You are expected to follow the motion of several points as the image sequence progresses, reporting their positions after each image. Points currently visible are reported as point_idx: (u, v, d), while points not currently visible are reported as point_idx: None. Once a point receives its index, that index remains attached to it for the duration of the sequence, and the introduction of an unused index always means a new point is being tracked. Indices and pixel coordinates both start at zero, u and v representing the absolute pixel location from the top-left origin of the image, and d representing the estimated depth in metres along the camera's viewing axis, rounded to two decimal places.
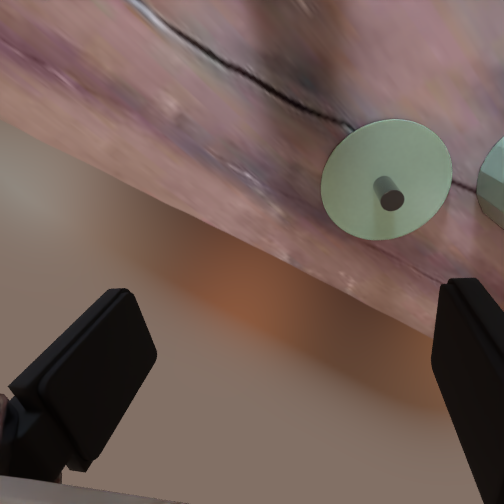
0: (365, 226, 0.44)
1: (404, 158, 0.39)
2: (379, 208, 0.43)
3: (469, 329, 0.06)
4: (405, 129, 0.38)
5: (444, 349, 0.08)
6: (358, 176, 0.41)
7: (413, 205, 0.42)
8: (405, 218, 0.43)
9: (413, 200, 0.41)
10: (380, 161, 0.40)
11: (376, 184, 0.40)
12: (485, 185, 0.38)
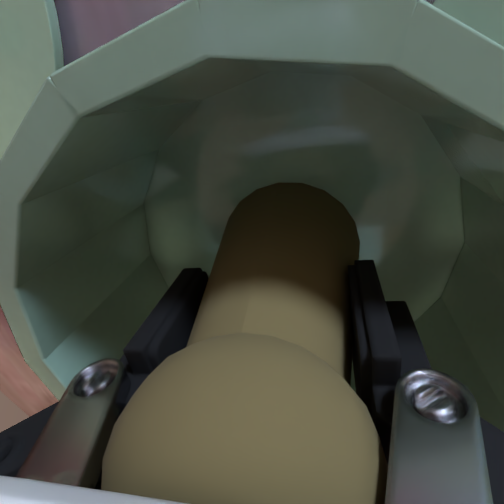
0: None
1: None
2: None
3: (352, 297, 0.08)
4: None
5: None
6: None
7: None
8: None
9: None
10: None
11: None
12: None
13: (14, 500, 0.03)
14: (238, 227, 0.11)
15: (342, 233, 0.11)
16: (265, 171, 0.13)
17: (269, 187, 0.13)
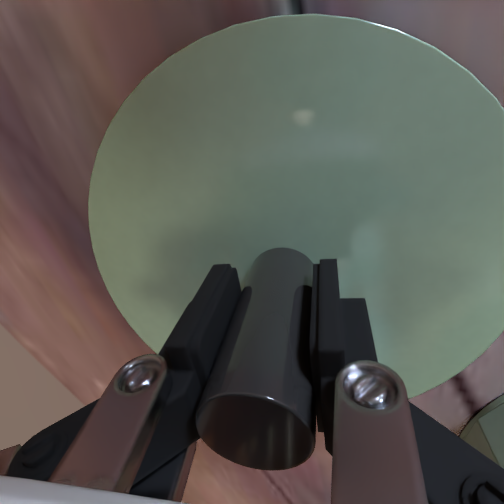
0: None
1: (393, 241, 0.10)
2: None
3: (312, 294, 0.08)
4: (472, 144, 0.09)
5: None
6: (226, 204, 0.11)
7: None
8: None
9: None
10: (318, 202, 0.10)
11: (259, 272, 0.10)
12: None
13: (14, 500, 0.03)
14: None
15: None
16: None
17: None
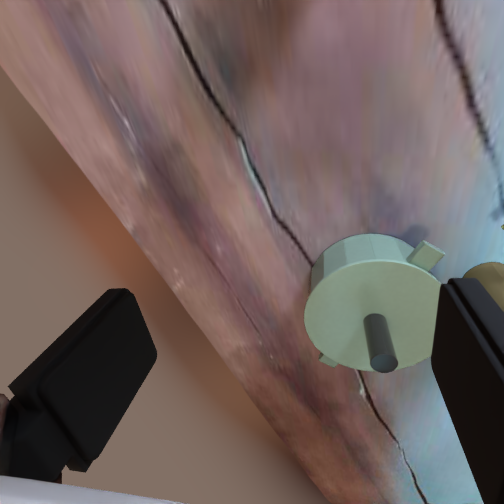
0: (330, 343, 0.39)
1: (411, 313, 0.34)
2: (355, 337, 0.38)
3: (469, 329, 0.06)
4: (433, 291, 0.33)
5: (444, 349, 0.08)
6: (359, 300, 0.35)
7: None
8: None
9: None
10: (389, 301, 0.34)
11: (372, 322, 0.34)
12: (317, 266, 0.40)
13: (14, 500, 0.03)
14: (488, 279, 0.36)
15: None
16: None
17: (488, 264, 0.38)
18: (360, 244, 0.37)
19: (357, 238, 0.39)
